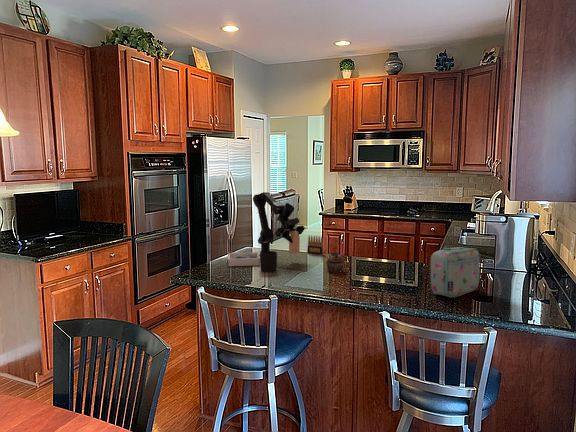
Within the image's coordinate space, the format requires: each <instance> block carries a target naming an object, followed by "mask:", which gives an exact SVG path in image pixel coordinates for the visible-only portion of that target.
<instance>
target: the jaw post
mask: <svg viewBox="0 0 576 432" xmlns="http://www.w3.org/2000/svg"><path fill="white" fill-rule="evenodd" d="M290 237H291V239H292V241H293V243H291V242H289V241H288V253H289V254H293V255H295V254H300V249H301V248H300V247H301V245H300V244H301V243H300V242H301V241H300V235H299V236H298V232H297V231H291V233H290Z"/></svg>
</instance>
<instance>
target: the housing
mask: <svg viewBox="0 0 576 432" xmlns="http://www.w3.org/2000/svg"><path fill="white" fill-rule="evenodd" d="M227 261H228V267H245V266H246V267H248V266H249V267H250V266H252V265H254V266H260V253H259V251H258V252H228V260H227Z"/></svg>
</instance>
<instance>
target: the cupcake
mask: <svg viewBox="0 0 576 432" xmlns="http://www.w3.org/2000/svg"><path fill="white" fill-rule="evenodd" d="M327 256H328V257H327V259H326V261H325V263H326V268H327V271H328V272H329V271H330V272H329V273H335V272H336V273H341V272H340V271H342V272H343V267H344V260H343V258H342V256H341V254H339V253H338V252H330V253H329V254H328V255H327Z"/></svg>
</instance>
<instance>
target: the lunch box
mask: <svg viewBox="0 0 576 432" xmlns="http://www.w3.org/2000/svg"><path fill="white" fill-rule="evenodd" d="M480 258H481V257H480V252H479V250H478V249H477V248H475V247H474V248H473V247H472V248H468V247H462V246H461V247H460V246H457V247H450V248H449V247H443V248H442V249H439V250H437V251H435V252H433V253H432V254H431V256H430V267H429V268H430V289H431V292H432V293H433V294H434V295H439V296H443V297H447V298H450V299H451V298H457V297H460V296H462V295H463V296H464V295H465V294H469V293H471V292H474V291H476V289H478V287H479V285H480V277H481V274H480V265H481V264H480V260H481V259H480Z"/></svg>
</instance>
